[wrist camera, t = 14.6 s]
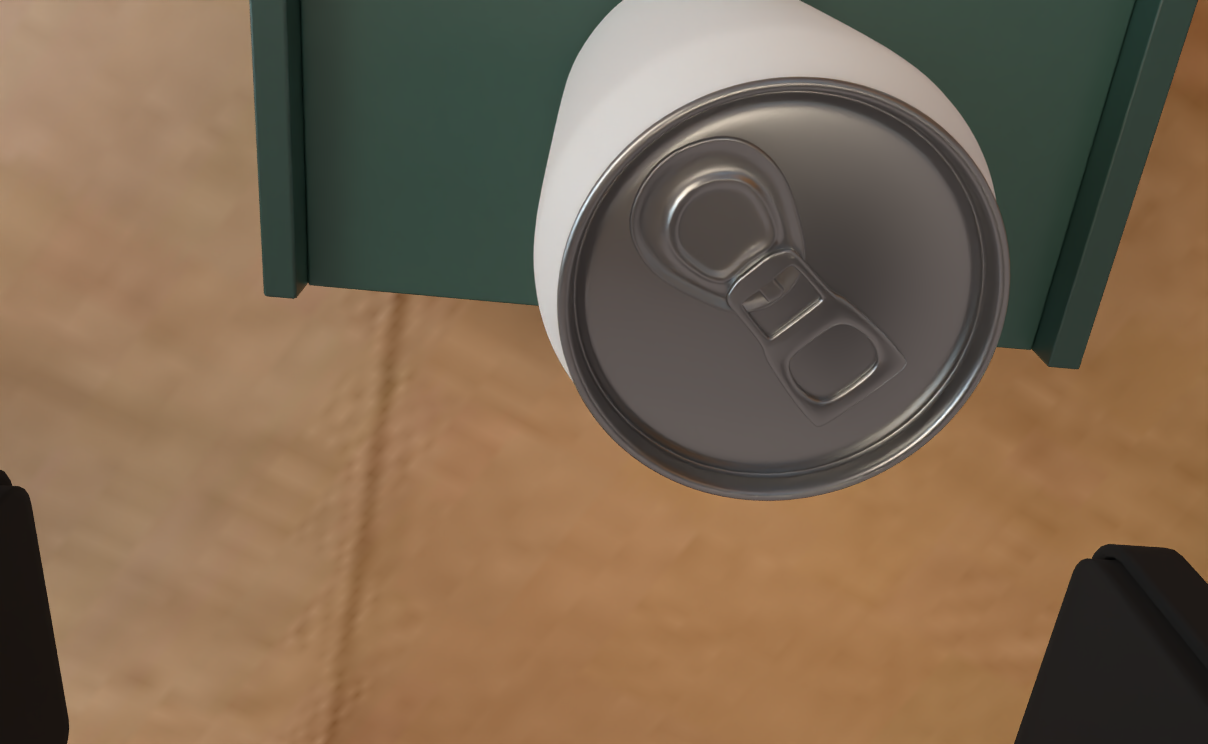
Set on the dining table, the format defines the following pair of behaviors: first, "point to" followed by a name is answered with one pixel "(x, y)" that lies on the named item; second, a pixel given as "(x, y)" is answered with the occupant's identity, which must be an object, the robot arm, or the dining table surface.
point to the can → (765, 247)
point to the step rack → (532, 100)
